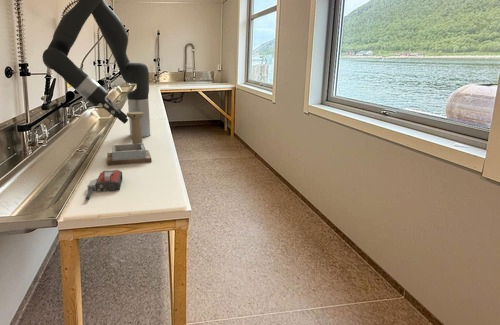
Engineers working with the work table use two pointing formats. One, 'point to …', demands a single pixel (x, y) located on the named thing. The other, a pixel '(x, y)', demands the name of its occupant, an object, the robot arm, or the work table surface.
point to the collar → (128, 151)
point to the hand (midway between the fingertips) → (126, 120)
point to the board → (132, 161)
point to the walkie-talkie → (105, 182)
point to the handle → (136, 126)
